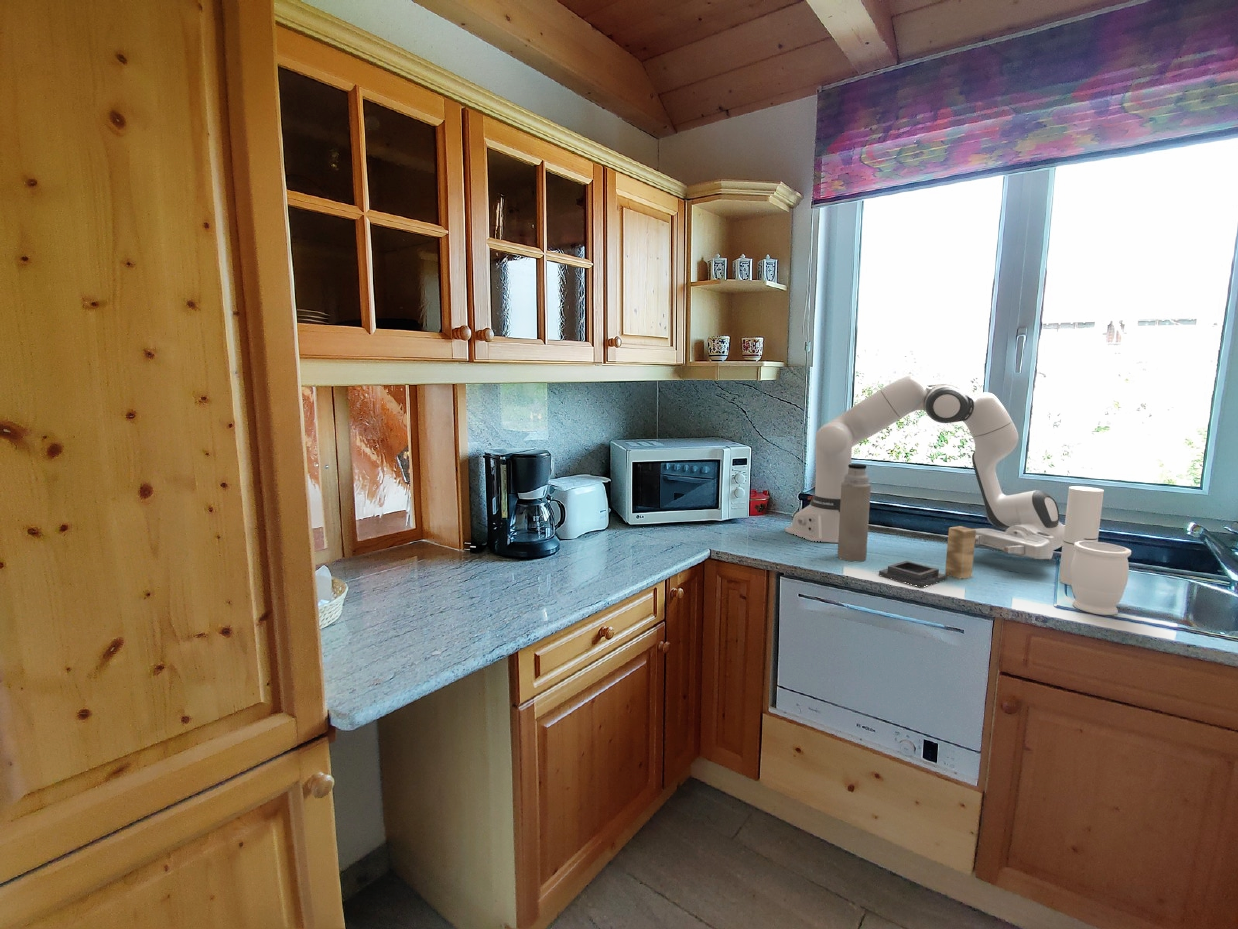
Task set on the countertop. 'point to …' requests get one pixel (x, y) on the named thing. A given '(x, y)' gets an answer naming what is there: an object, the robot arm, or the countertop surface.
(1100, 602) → the jar
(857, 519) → the thermos bottle
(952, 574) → the oak wick peg
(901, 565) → the dark rectangular socket base
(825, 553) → the countertop surface
